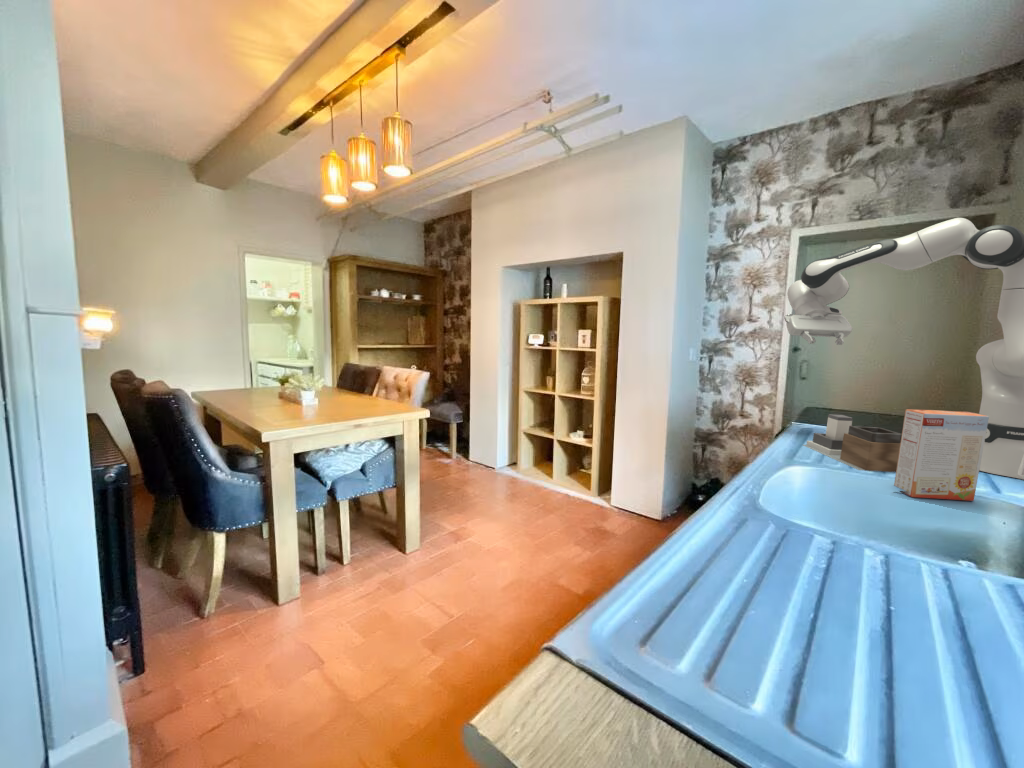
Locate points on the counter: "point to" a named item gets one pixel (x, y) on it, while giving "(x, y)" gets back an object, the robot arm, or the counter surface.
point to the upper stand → (871, 448)
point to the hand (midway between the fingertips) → (826, 343)
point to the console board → (837, 458)
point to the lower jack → (826, 444)
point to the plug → (838, 426)
